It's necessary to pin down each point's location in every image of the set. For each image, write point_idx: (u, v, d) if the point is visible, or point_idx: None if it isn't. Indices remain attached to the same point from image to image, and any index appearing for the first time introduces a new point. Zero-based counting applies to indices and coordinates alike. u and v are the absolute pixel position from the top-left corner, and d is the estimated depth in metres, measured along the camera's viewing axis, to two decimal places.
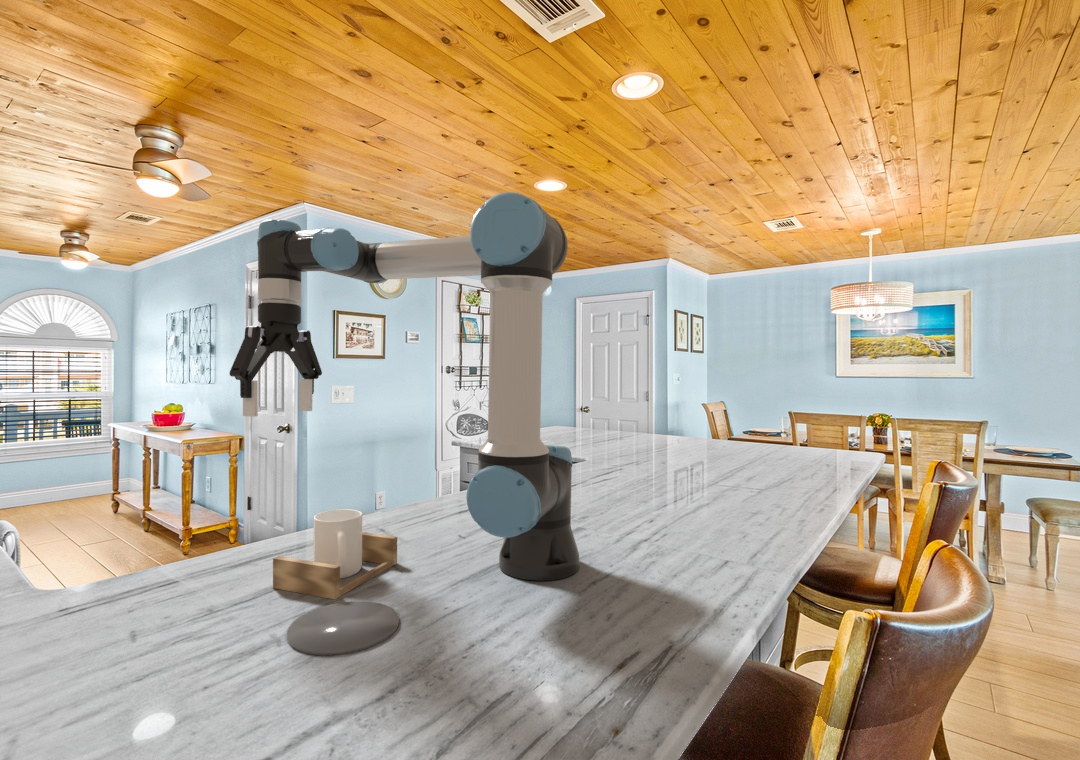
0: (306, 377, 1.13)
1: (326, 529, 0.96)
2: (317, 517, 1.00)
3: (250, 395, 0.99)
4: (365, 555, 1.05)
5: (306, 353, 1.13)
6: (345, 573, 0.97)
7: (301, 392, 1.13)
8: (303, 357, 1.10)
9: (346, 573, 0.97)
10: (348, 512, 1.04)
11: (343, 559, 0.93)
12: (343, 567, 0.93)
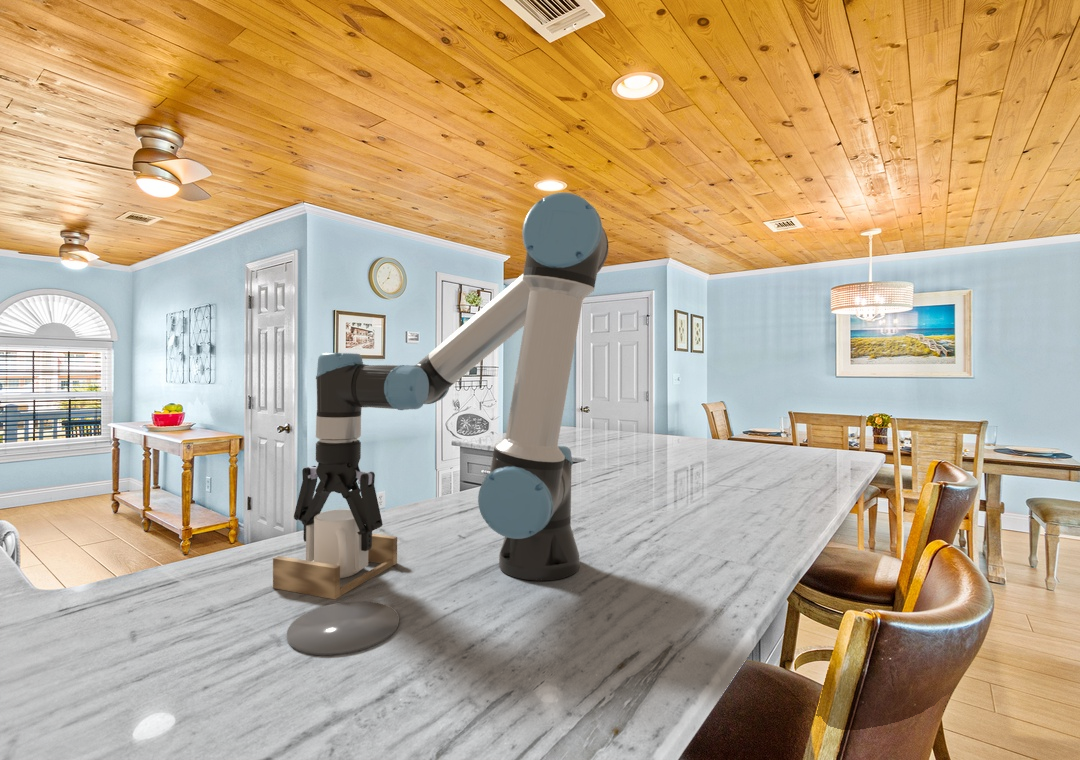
0: None
1: (327, 529, 0.96)
2: (317, 517, 1.00)
3: None
4: None
5: None
6: (345, 573, 0.97)
7: None
8: (352, 504, 0.96)
9: (346, 573, 0.97)
10: (348, 512, 1.03)
11: (344, 559, 0.93)
12: (344, 567, 0.93)
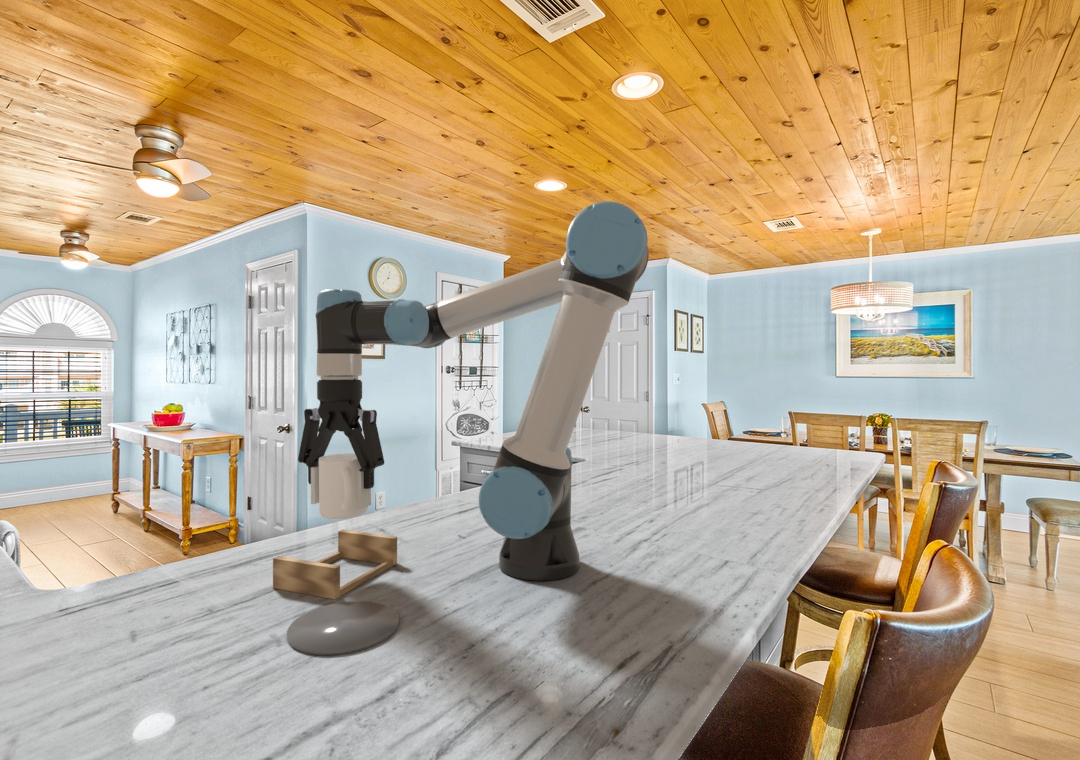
0: None
1: (332, 468, 0.95)
2: (322, 459, 0.99)
3: None
4: (365, 555, 1.05)
5: None
6: (351, 513, 0.96)
7: None
8: (354, 442, 0.95)
9: (352, 513, 0.96)
10: (353, 456, 1.03)
11: (349, 496, 0.92)
12: (349, 505, 0.93)
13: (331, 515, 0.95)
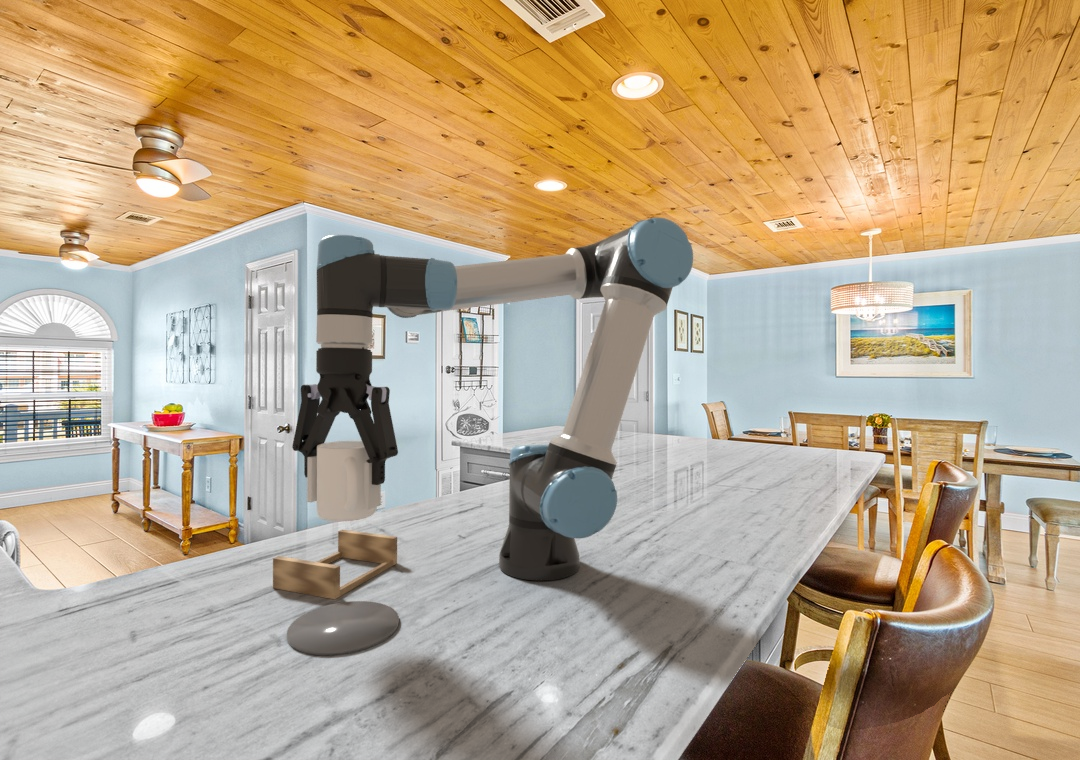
0: None
1: (333, 458, 0.76)
2: (321, 447, 0.80)
3: None
4: (365, 555, 1.05)
5: None
6: (356, 514, 0.77)
7: None
8: (361, 426, 0.76)
9: (357, 514, 0.77)
10: (359, 444, 0.84)
11: (353, 494, 0.73)
12: (353, 504, 0.74)
13: (331, 517, 0.77)
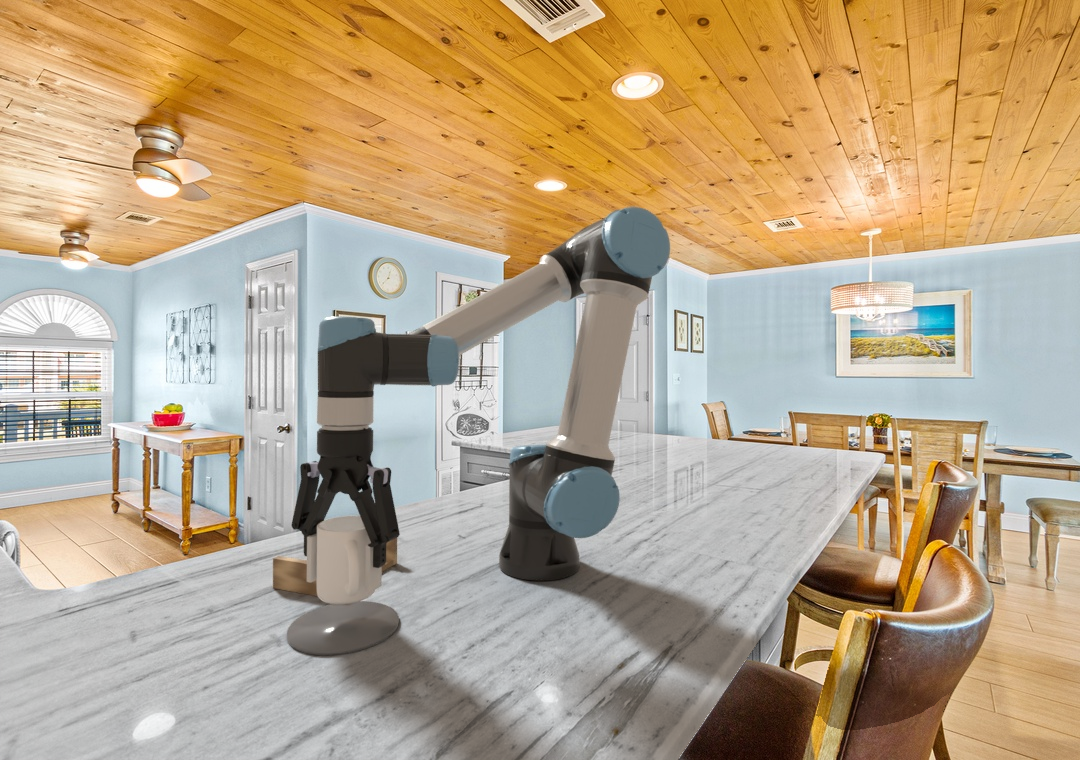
0: None
1: (333, 541, 0.76)
2: (321, 526, 0.80)
3: None
4: None
5: None
6: (357, 597, 0.77)
7: None
8: (362, 508, 0.76)
9: (358, 596, 0.77)
10: (359, 519, 0.83)
11: (355, 580, 0.73)
12: (355, 590, 0.73)
13: (331, 600, 0.76)
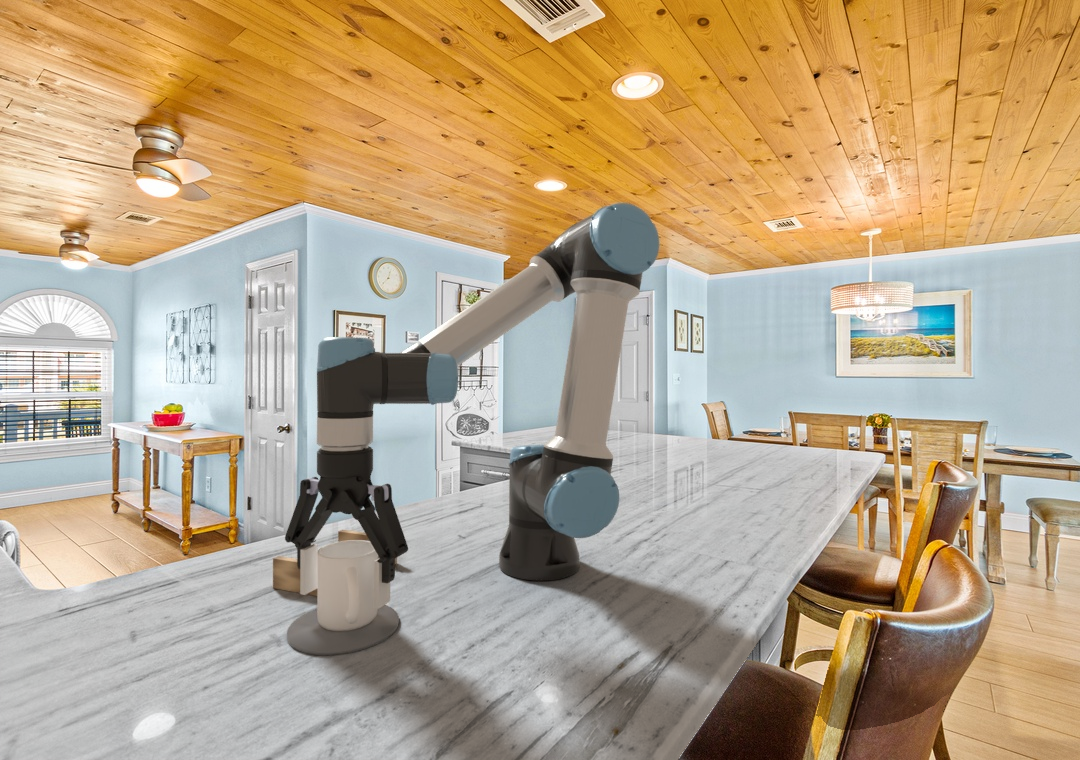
0: None
1: (334, 568, 0.76)
2: (322, 551, 0.80)
3: None
4: None
5: None
6: (357, 623, 0.77)
7: None
8: (367, 526, 0.76)
9: (358, 623, 0.77)
10: (360, 544, 0.83)
11: (355, 608, 0.73)
12: (355, 618, 0.73)
13: (332, 627, 0.76)
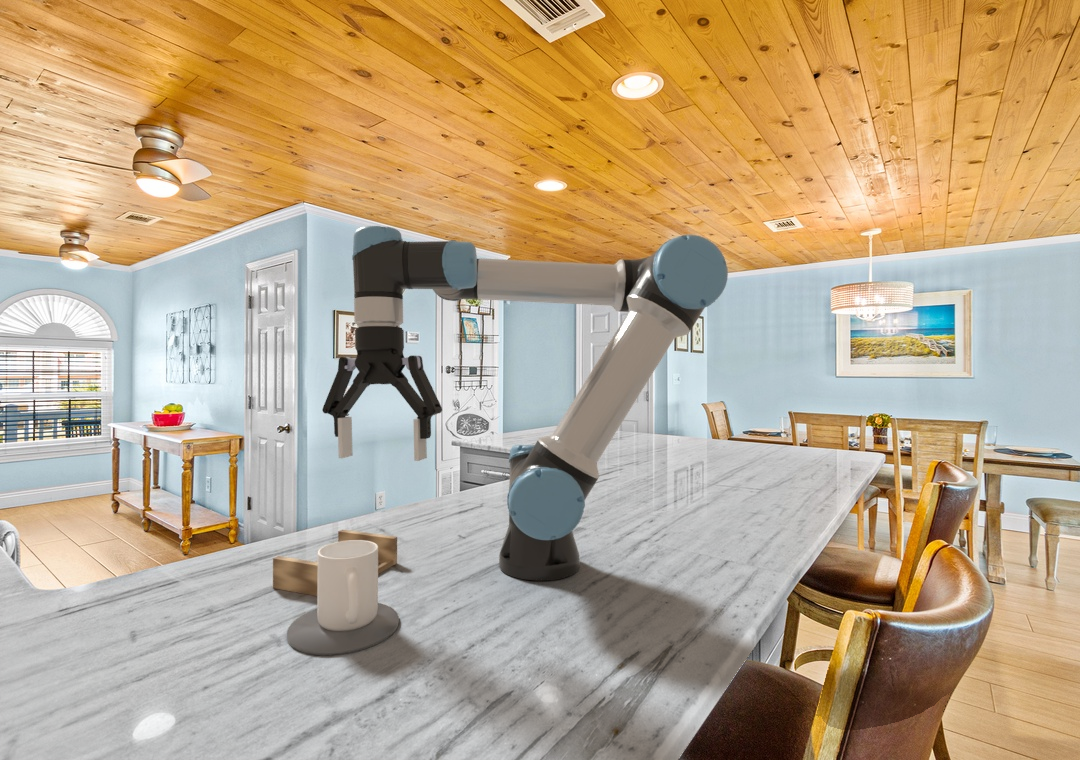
0: None
1: (334, 568, 0.76)
2: (322, 551, 0.80)
3: None
4: None
5: None
6: (357, 623, 0.77)
7: None
8: (404, 390, 0.86)
9: (358, 623, 0.77)
10: (360, 544, 0.83)
11: (355, 608, 0.73)
12: (355, 618, 0.73)
13: (332, 627, 0.76)
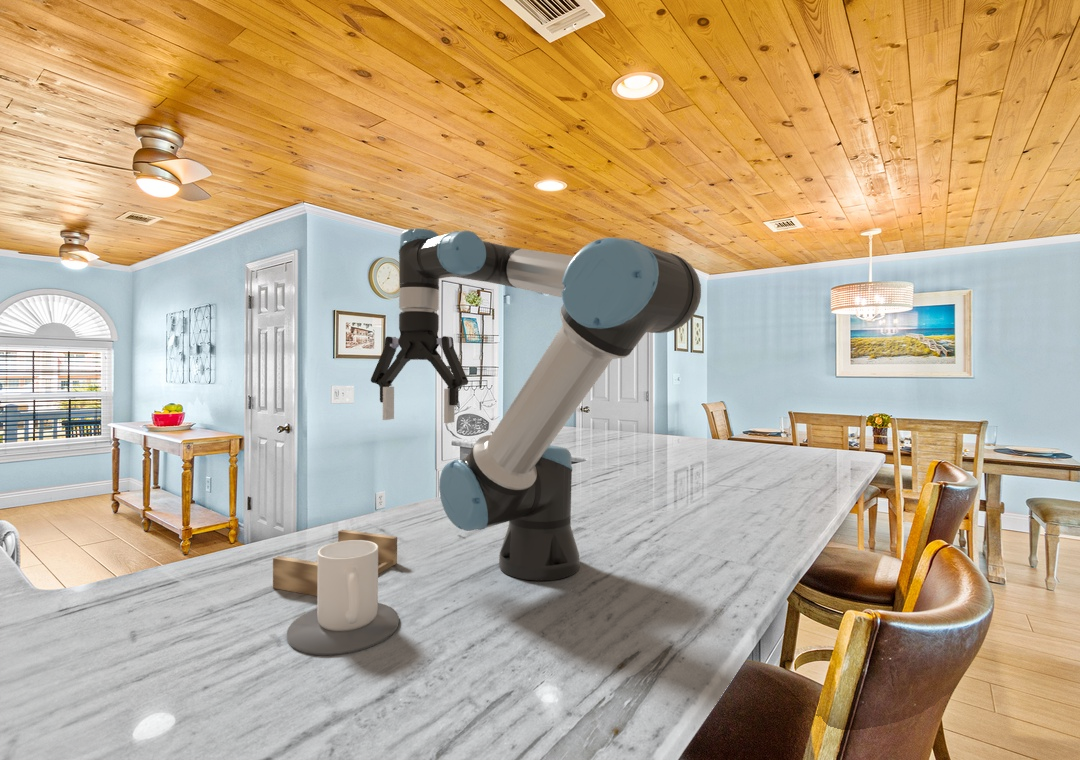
0: None
1: (334, 568, 0.76)
2: (322, 551, 0.80)
3: None
4: None
5: None
6: (357, 623, 0.77)
7: None
8: (437, 365, 1.04)
9: (358, 623, 0.77)
10: (360, 544, 0.83)
11: (355, 608, 0.73)
12: (355, 618, 0.73)
13: (332, 627, 0.76)
